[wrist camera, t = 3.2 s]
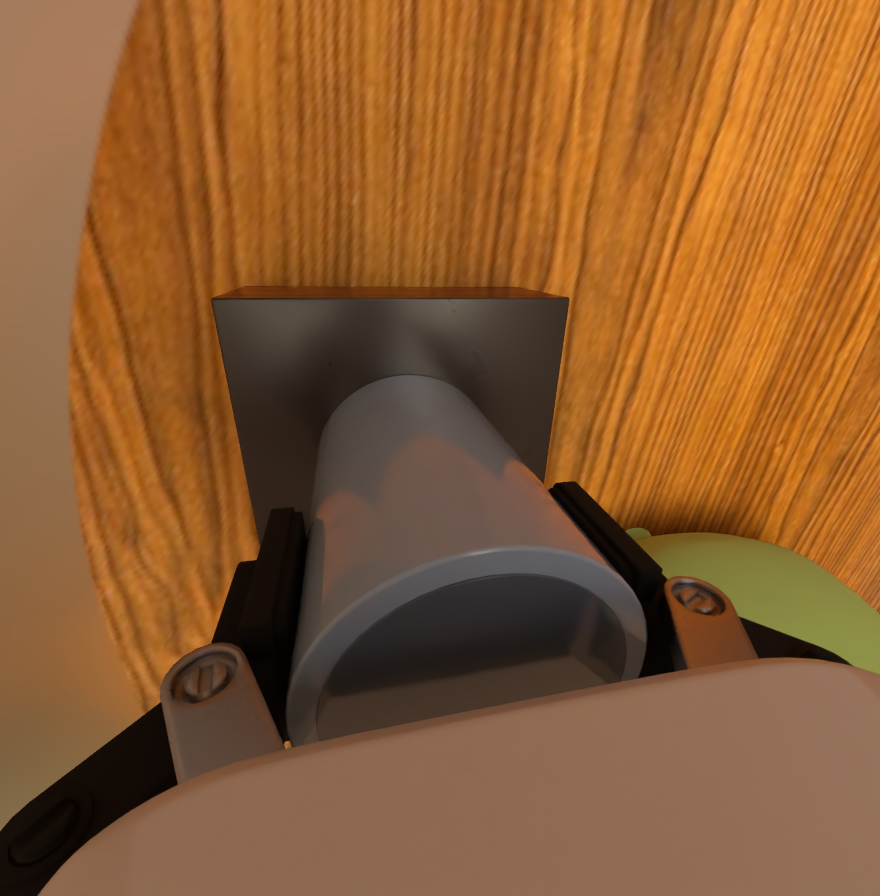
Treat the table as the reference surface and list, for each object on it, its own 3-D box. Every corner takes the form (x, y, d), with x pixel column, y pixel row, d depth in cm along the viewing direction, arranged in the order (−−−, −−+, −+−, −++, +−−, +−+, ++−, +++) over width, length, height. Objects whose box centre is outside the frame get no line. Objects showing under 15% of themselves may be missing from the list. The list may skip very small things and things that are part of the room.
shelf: (283, 529, 22) (251, 680, 14) (242, 286, 17) (159, 315, 9) (500, 507, 25) (573, 627, 17) (520, 287, 20) (639, 312, 12)
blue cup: (326, 539, 17) (308, 842, 8) (307, 377, 15) (250, 580, 6) (484, 522, 19) (613, 770, 10) (496, 371, 16) (693, 527, 7)
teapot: (457, 723, 32) (545, 1089, 18) (563, 478, 25) (857, 784, 10) (705, 717, 40) (904, 974, 26) (847, 526, 32) (1244, 744, 18)
